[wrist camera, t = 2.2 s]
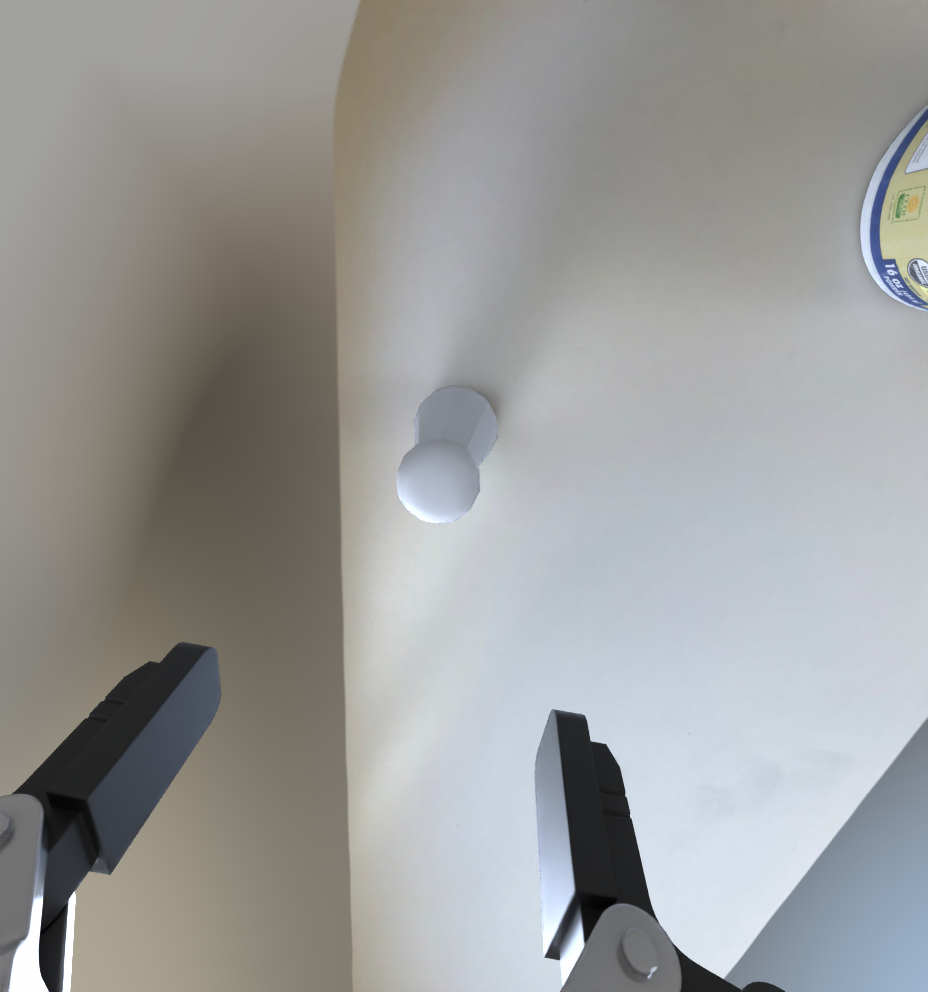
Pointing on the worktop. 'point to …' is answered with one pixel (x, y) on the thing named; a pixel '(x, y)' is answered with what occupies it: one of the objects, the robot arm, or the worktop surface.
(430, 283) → the worktop surface
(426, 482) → the salt shaker
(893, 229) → the supplement tub
